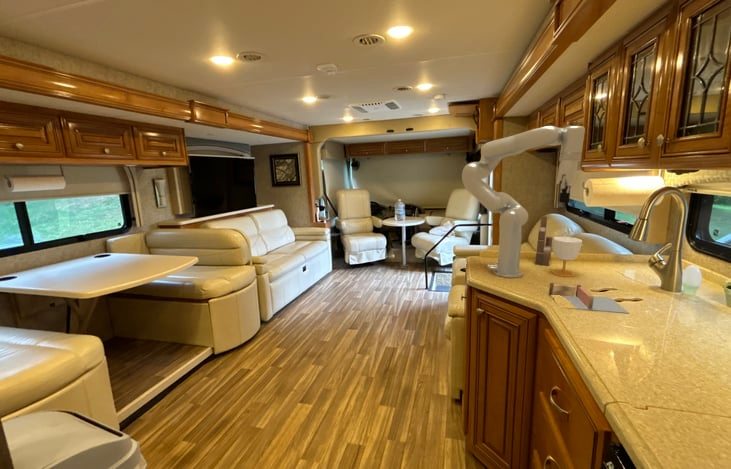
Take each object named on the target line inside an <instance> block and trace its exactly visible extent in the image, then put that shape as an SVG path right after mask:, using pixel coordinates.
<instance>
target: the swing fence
mask: <svg viewBox="0 0 731 469" xmlns="http://www.w3.org/2000/svg"><path fill="white" fill-rule="evenodd" d="M577 297H578V298H579V299H580V300H581V301H582V302H583V303H584V304H585V305H586V306H587V307H588V308H592V307H593V300H594V297H593V296H592V295H591V294H590V293H589V292H588V291H587V290H586V289H584V288H583V287H582V286H581V287H578V294H577Z"/></svg>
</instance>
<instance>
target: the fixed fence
mask: <svg viewBox="0 0 731 469" xmlns="http://www.w3.org/2000/svg"><path fill="white" fill-rule="evenodd" d="M578 287H582V285H581V284H576V286H575V285H566V284H565V285H563V284H555V283H554V282H549V290H548V295H549V294H550V295H560V296H572V297H574V295H576V297H577V294H578ZM550 295H549V296H550Z"/></svg>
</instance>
